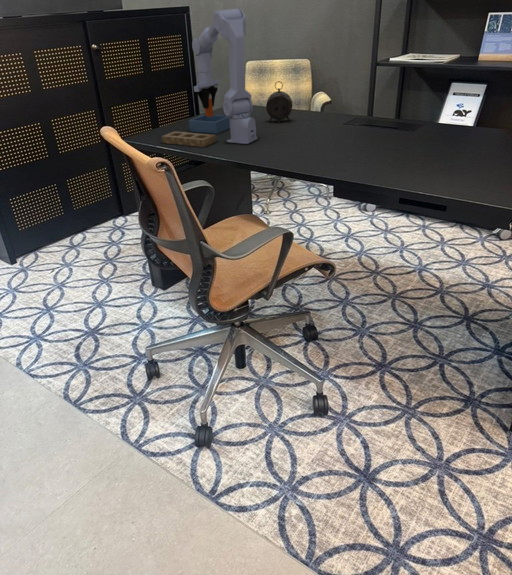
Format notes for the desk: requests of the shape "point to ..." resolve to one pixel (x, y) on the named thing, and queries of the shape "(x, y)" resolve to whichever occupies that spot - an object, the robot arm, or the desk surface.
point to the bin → (209, 124)
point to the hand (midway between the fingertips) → (208, 107)
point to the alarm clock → (279, 105)
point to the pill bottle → (209, 110)
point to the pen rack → (189, 139)
